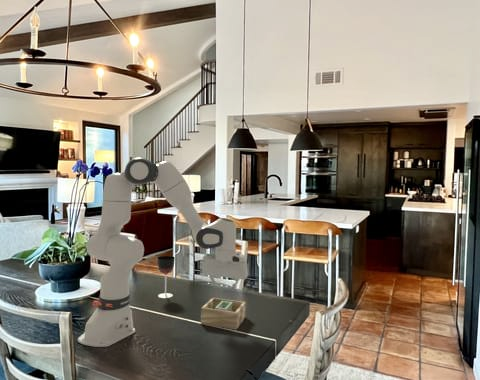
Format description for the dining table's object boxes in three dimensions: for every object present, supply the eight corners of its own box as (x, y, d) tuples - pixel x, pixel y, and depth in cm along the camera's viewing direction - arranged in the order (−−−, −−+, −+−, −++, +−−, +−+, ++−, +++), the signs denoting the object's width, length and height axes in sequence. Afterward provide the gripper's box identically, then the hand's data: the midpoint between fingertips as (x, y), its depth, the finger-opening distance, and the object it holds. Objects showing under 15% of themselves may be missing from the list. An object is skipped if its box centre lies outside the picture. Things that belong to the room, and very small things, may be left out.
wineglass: (172, 298, 191) (172, 259, 190) (155, 297, 191) (155, 259, 190) (175, 293, 199) (175, 256, 197) (159, 292, 199) (159, 255, 198)
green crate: (225, 322, 160) (226, 309, 159) (214, 321, 161) (215, 307, 161) (232, 315, 168) (232, 302, 168) (221, 313, 170) (222, 300, 169)
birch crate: (236, 329, 156) (236, 313, 155) (200, 324, 160) (201, 308, 160) (245, 317, 169) (245, 301, 169) (212, 312, 173) (212, 297, 173)
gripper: (200, 254, 163) (199, 285, 163) (245, 259, 157) (244, 291, 157) (206, 251, 169) (204, 282, 169) (249, 256, 163) (248, 287, 163)
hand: (224, 286), depth 163 cm, fingers open, 8 cm apart
